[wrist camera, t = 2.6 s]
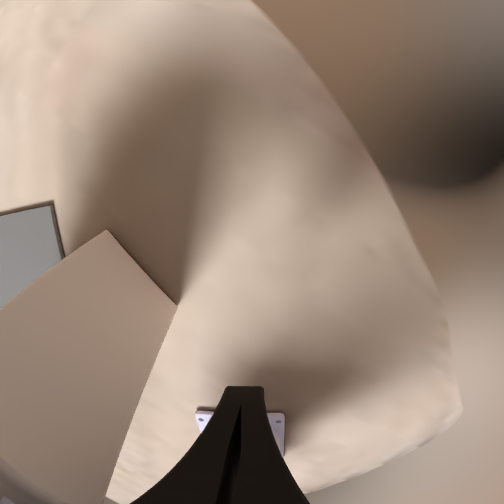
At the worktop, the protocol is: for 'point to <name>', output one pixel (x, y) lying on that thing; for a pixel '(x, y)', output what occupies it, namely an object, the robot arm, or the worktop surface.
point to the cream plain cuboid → (75, 372)
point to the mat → (27, 248)
